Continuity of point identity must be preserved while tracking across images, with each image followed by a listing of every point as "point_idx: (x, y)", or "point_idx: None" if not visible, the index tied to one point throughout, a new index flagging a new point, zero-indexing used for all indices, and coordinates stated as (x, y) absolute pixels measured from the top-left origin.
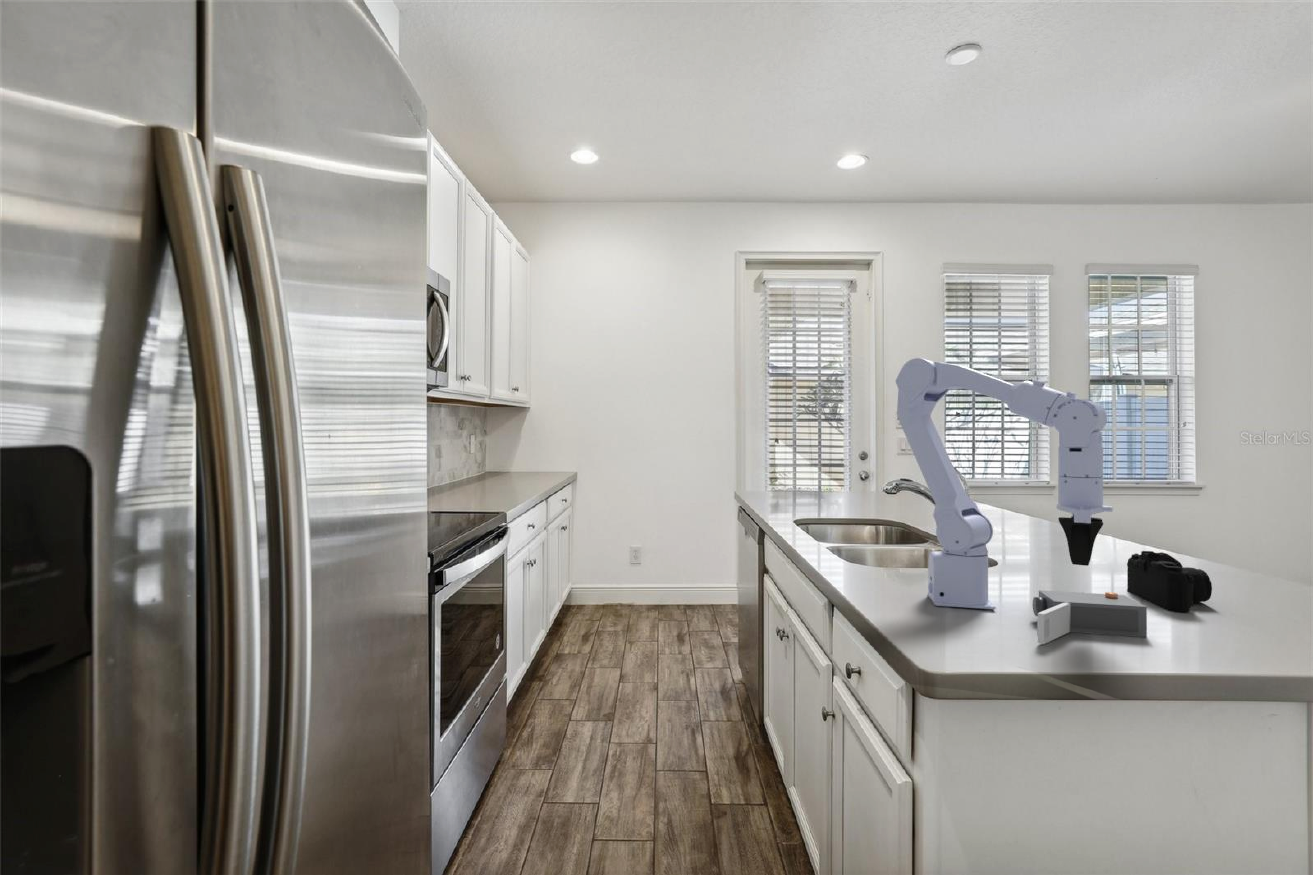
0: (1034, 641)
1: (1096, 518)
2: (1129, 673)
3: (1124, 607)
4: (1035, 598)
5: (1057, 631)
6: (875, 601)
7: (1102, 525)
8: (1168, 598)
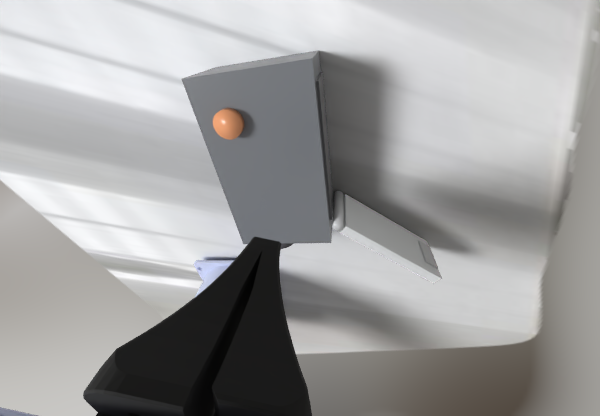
0: None
1: (129, 407)
2: (569, 164)
3: (318, 116)
4: None
5: (387, 224)
6: None
7: (296, 400)
8: None
